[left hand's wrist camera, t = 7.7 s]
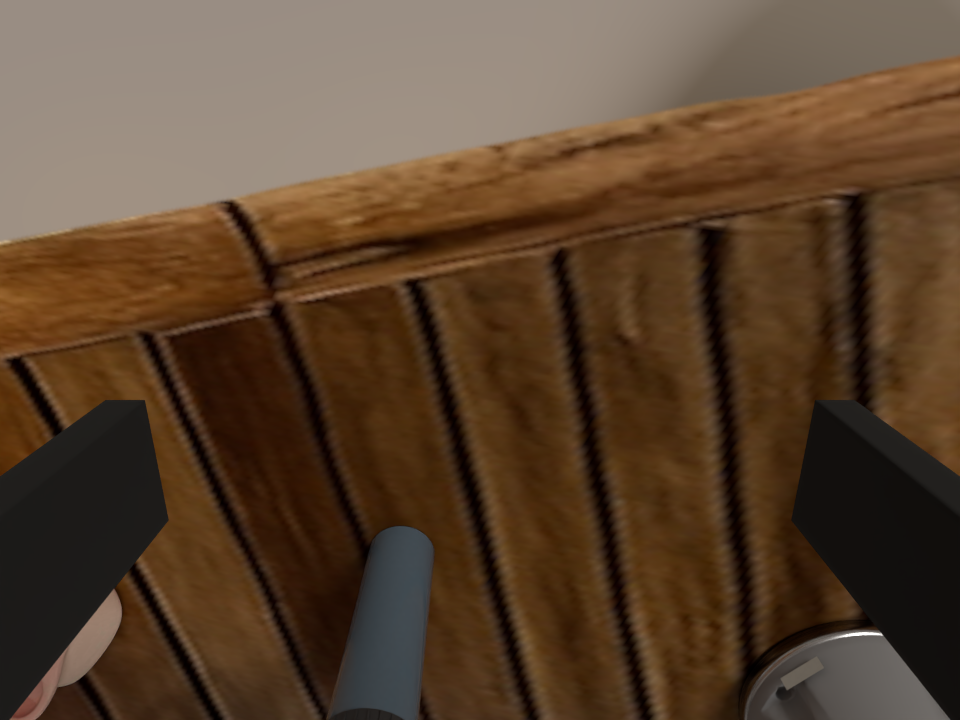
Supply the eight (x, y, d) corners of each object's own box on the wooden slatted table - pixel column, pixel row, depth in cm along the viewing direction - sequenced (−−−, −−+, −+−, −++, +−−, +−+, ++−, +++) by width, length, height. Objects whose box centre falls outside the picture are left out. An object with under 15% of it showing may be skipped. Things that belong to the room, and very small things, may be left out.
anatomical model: (-19, 542, 39) (134, 646, 42) (24, 505, 43) (162, 604, 46) (-126, 655, 42) (23, 745, 45) (-77, 612, 46) (58, 697, 49)
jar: (361, 568, 45) (303, 793, 30) (380, 517, 44) (329, 727, 28) (422, 586, 46) (395, 816, 31) (443, 536, 44) (425, 752, 29)
